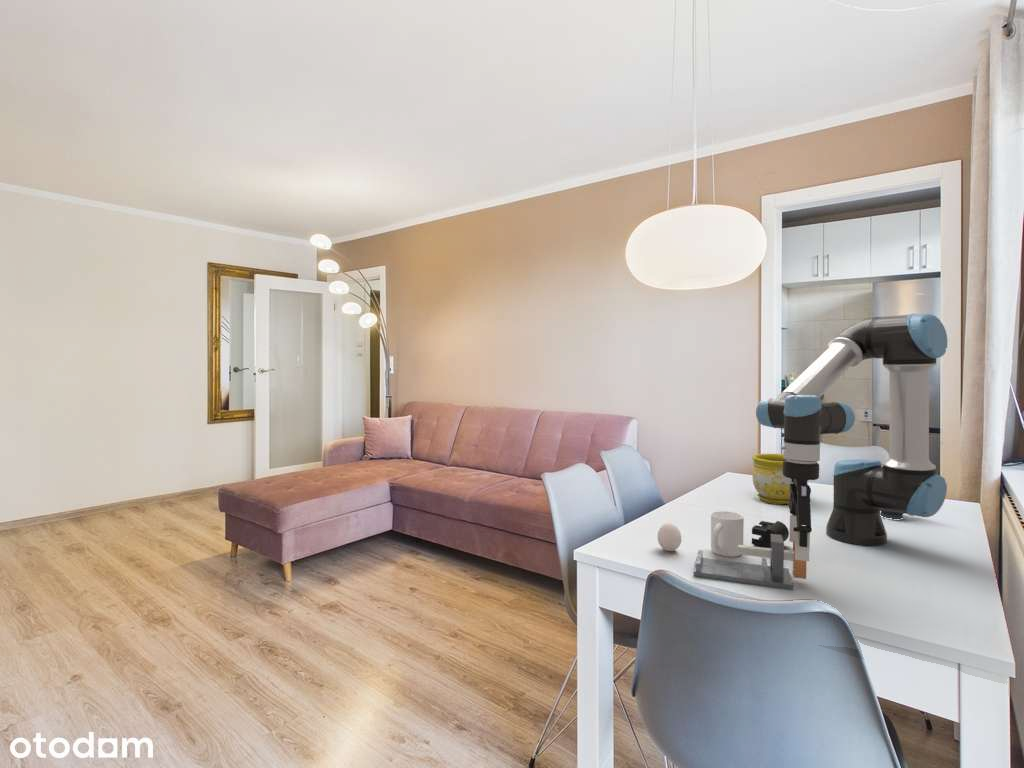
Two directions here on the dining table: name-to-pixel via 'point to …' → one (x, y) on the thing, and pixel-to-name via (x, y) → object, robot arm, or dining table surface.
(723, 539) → the mug
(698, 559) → the dock
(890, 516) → the mortar and pestle
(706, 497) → the dining table surface
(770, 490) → the flowerpot
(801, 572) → the lever
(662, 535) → the egg
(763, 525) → the end cap
